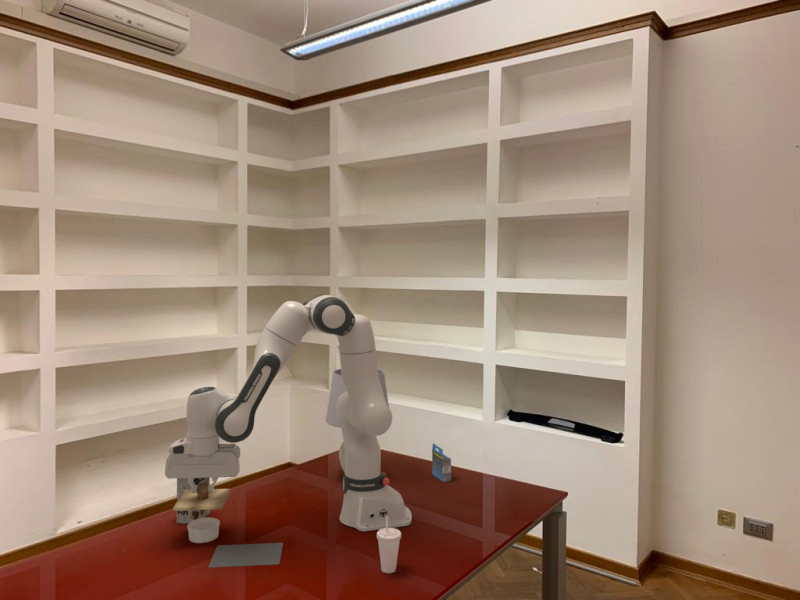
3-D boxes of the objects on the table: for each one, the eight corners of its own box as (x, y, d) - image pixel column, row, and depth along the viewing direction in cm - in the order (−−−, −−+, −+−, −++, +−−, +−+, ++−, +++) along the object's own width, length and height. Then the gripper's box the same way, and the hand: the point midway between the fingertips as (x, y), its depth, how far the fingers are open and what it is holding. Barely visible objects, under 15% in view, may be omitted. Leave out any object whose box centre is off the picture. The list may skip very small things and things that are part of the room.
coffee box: (195, 525, 176) (194, 472, 175) (176, 523, 177) (175, 471, 176) (211, 513, 185) (210, 462, 184) (192, 511, 186) (192, 461, 185)
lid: (230, 491, 174) (230, 475, 174) (221, 509, 161) (221, 491, 161) (185, 492, 172) (185, 476, 172) (173, 510, 160) (173, 493, 159)
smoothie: (375, 563, 154) (376, 511, 153) (400, 562, 154) (400, 511, 153) (376, 576, 147) (377, 522, 147) (402, 575, 148) (402, 521, 147)
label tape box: (451, 481, 214) (452, 448, 214) (441, 482, 213) (442, 449, 212) (440, 473, 223) (441, 441, 222) (431, 474, 221) (431, 442, 220)
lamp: (326, 468, 227) (326, 366, 225) (387, 466, 229) (388, 365, 227) (325, 491, 203) (325, 377, 201) (393, 489, 206) (394, 377, 204)
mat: (283, 544, 164) (283, 542, 164) (279, 565, 152) (279, 564, 152) (217, 546, 162) (217, 545, 162) (208, 568, 150) (208, 567, 150)
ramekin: (181, 538, 167) (181, 524, 167) (209, 528, 174) (209, 514, 174) (197, 548, 161) (197, 533, 161) (226, 537, 168) (226, 523, 168)
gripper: (242, 440, 170) (241, 487, 171) (169, 441, 168) (169, 488, 169) (238, 447, 164) (238, 495, 165) (163, 448, 162) (163, 497, 162)
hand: (203, 492), depth 167 cm, fingers closed on lid, 3 cm apart
